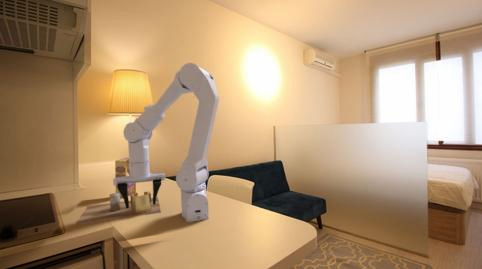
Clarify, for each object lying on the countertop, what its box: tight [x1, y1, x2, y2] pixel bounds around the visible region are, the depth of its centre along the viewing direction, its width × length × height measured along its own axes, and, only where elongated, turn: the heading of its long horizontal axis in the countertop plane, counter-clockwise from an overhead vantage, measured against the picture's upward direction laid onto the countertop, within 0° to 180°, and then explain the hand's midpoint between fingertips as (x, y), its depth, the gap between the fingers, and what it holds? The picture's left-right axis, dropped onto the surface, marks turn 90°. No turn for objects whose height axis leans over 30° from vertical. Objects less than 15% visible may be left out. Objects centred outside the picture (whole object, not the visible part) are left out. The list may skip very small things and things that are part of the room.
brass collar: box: [129, 191, 152, 213], centre depth 74 cm, size 5×6×5 cm
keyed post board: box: [74, 192, 162, 227], centre depth 75 cm, size 17×22×6 cm
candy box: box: [114, 157, 137, 199], centre depth 92 cm, size 9×4×15 cm, turn 2°
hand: (141, 205), depth 74 cm, fingers open, 7 cm apart
